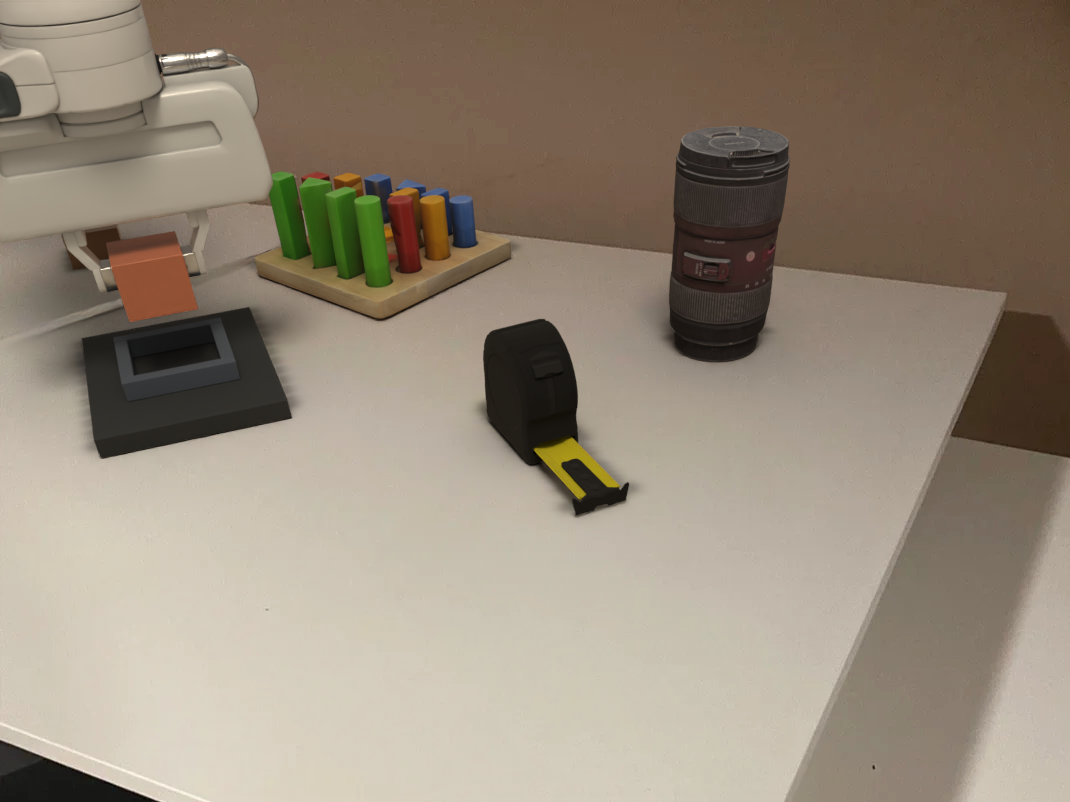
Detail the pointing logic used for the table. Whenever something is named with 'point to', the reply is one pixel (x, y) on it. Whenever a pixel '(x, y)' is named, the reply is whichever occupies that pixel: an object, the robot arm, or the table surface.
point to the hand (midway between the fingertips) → (153, 281)
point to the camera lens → (725, 238)
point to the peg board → (374, 241)
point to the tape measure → (543, 408)
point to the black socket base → (180, 382)
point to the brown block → (97, 243)
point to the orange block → (151, 276)
